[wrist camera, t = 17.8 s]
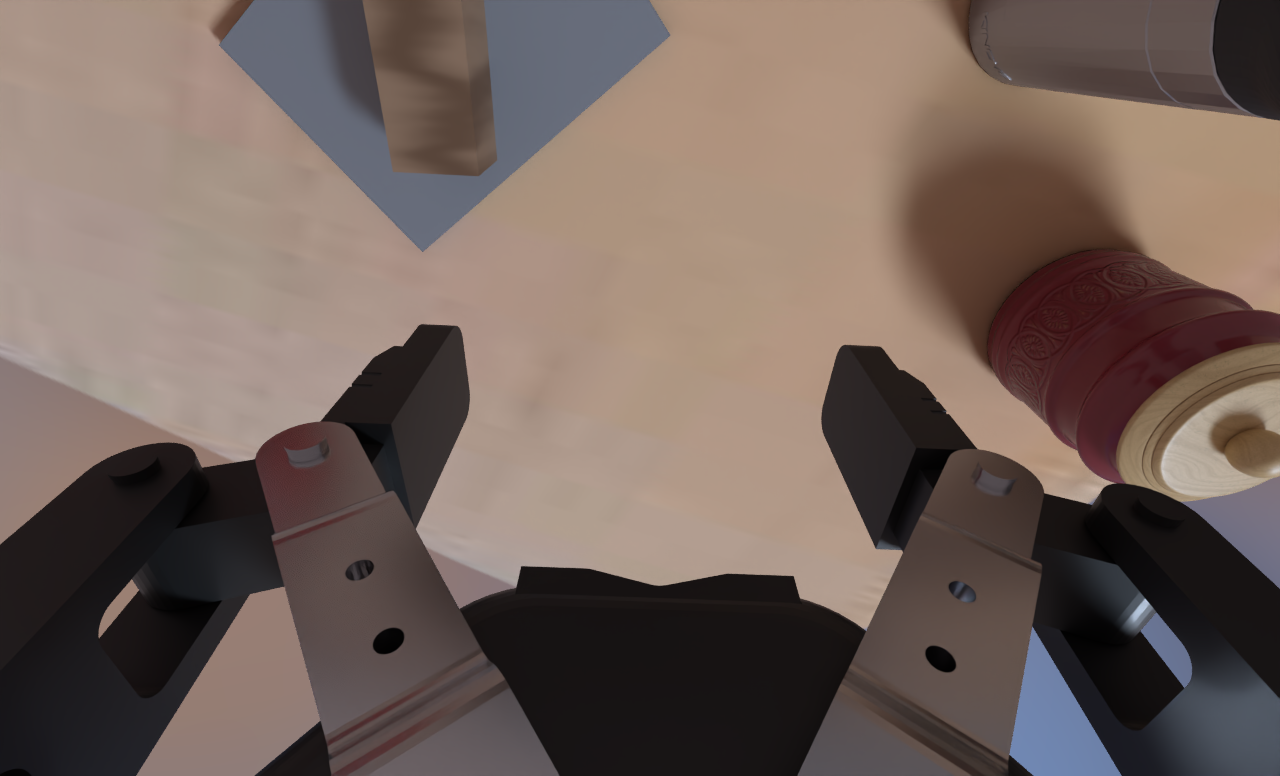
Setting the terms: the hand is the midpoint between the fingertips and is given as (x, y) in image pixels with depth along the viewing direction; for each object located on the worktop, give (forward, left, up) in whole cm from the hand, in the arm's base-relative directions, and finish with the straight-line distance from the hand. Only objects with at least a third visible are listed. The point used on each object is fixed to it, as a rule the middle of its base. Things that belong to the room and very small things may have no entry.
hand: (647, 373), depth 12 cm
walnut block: (+10, -7, -27) cm, 29 cm away
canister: (-19, +31, -30) cm, 47 cm away
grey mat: (+6, -12, -30) cm, 33 cm away
